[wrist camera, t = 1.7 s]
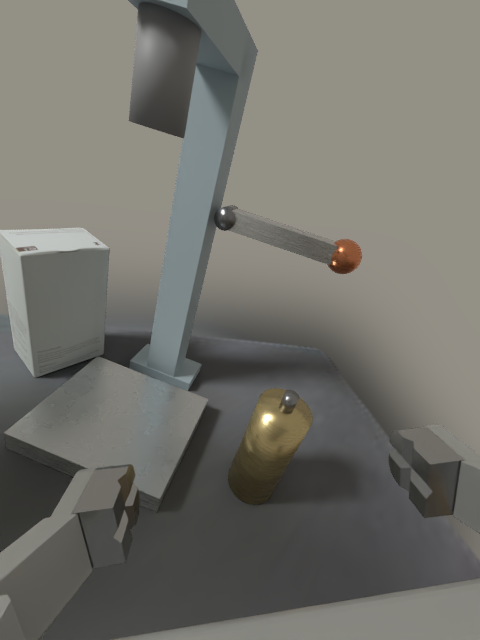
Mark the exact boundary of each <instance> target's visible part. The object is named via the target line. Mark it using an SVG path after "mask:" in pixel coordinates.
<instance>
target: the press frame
mask: <svg viewBox="0 0 480 640" xmlns="http://www.w3.org/2000/svg"><path fill="white" fill-rule="evenodd" d="M128 1H129V2H131V3H132V4H133V5H134V6H135V7H136V8H137V9H138V18H137V29H136V41H135V53H134V66H133V78H132V90H131V102H130V115H129V121H131V122H134V123H137V124H140V125H143V126H146V127H149V128H152V129H156V130H158V131H162V132H165V133H168V134H171V135H174V136H178V137H181V138H183V143H182V149H181V155H180V162H179V167H178V174H177V180H176V186H175V193H174V199H173V205H172V211H171V217H170V224H169V230H168V236H167V242H166V249H165V255H164V261H163V267H162V274H161V280H160V287H159V292H158V299H157V305H156V312H155V317H154V324H153V330H152V336H151V342H150V344H147V345H146V346H145V347H143V348H142V349H141V350H140V351H139V352H138V353H137V354H136V355H135V356H134V357H133V358H132V359H131V360H130V365H129V368H130V369H133V370H135V371H138V372H140V373H143V374H145V375H148V376H150V377H153V378H156V379H158V380H161V381H163V382H166V383H168V384H171V385H174V386H176V387H179V388H181V389H184V390H186V391H188V390H189V388H190V386H191V385H192V383H193V381H194V380H195V378H196V376H197V375H198V373H199V371H200V369H201V365H202V364H200V363H198V362H195V361H192V360H190V359H187V358H186V353H187V349H188V345H189V341H190V336H191V332H192V328H193V323H194V319H195V315H196V311H197V307H198V302H199V298H200V294H201V290H202V285H203V281H204V277H205V272H206V268H207V264H208V260H209V255H210V251H211V247H212V243H213V239H214V234H215V230H216V225H215V222H214V215H215V213H216V211H217V210H219V209H221V205H222V201H223V196H224V192H225V188H226V184H227V179H228V175H229V171H230V167H231V162H232V158H233V154H234V149H235V145H236V141H237V136H238V133H239V128H240V124H241V120H242V116H243V111H244V107H245V103H246V98H247V94H248V90H249V86H250V81H251V77H252V73H253V69H254V65H255V60H256V56H257V52H258V50H257V48H256V46H255V44H254V42H253V39H252V37H251V35H250V33H249V31H248V29H247V27H246V24H245V23H244V20H243V18H242V16H241V14H240V12H239V9H238V7H237V5H236V3H235V1H234V0H128Z"/></svg>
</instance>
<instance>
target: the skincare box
mask: <svg viewBox="0 0 480 640" xmlns="http://www.w3.org/2000/svg"><path fill="white" fill-rule="evenodd" d="M109 252H110V248H108V247H107V246H106V245H104V244H103V243H102V242H101V241H99V240H98V239H96V238H95V237H94V236H92V235H91V234H90V233H89V232H87V231H86V230H85V229H84V228H63V229H35V230H0V254H1V263H2V269H3V275H4V282H5V288H6V295H7V302H8V309H9V316H10V323H11V329H12V336H13V344H14V349H15V351H16V352H17V353H18V355H19V356H20V358H21V359H22V361H23V362H24V363H25V365H26V366H27V368H28V369H29V371H30V372H31V373H32V375H33V376H34V377H35V378H36V377H39V376H42V375H45V374H48V373H50V372H53V371H56V370H59V369H62V368H65V367H68V366H71V365H74V364H77V363H79V362H82V361H85V360H88V359H91V358H94V357H97V356H100V355H103V354H104V339H105V319H106V301H107V284H108V283H107V282H108V266H109V265H108V264H109Z"/></svg>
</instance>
